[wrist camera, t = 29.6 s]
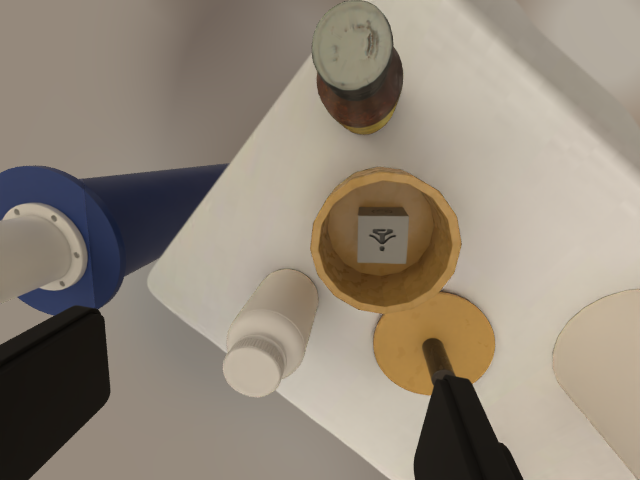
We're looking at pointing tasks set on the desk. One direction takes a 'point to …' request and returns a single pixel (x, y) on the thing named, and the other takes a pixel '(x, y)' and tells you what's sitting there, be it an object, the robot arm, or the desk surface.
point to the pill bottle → (270, 333)
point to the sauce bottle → (357, 66)
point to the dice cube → (382, 235)
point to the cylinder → (605, 370)
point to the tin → (386, 278)
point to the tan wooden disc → (434, 343)
